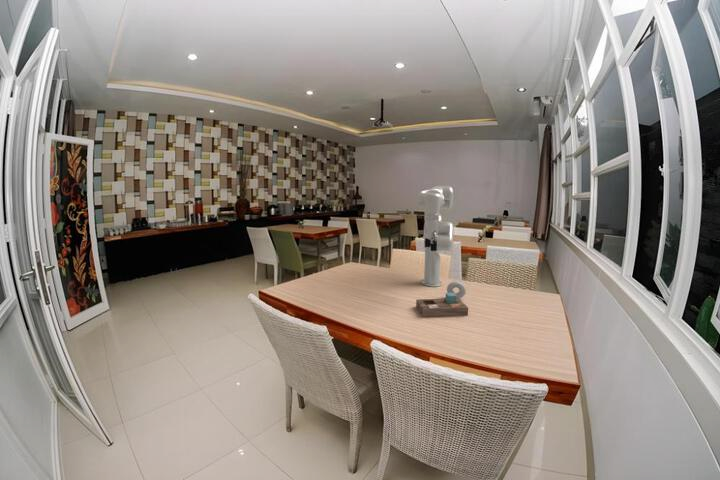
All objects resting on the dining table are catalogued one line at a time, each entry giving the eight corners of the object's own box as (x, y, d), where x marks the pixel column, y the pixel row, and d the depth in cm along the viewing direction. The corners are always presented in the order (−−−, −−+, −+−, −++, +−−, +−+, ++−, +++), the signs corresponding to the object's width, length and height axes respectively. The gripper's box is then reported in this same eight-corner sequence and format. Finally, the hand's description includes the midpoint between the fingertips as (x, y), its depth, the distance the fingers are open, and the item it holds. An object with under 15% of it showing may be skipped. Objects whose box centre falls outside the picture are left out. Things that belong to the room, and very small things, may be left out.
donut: (446, 298, 158) (447, 281, 157) (446, 296, 162) (447, 279, 160) (465, 301, 155) (466, 283, 153) (465, 298, 158) (466, 281, 156)
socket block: (416, 306, 147) (416, 299, 147) (457, 305, 149) (457, 297, 148) (423, 317, 136) (423, 308, 135) (467, 315, 137) (468, 306, 137)
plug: (445, 307, 146) (445, 293, 145) (452, 307, 146) (453, 292, 145) (447, 311, 142) (448, 295, 141) (455, 310, 143) (456, 295, 141)
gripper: (419, 215, 159) (418, 245, 162) (430, 219, 142) (428, 252, 145) (433, 215, 160) (431, 245, 163) (444, 218, 143) (443, 252, 146)
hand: (430, 248), depth 154 cm, fingers open, 9 cm apart
